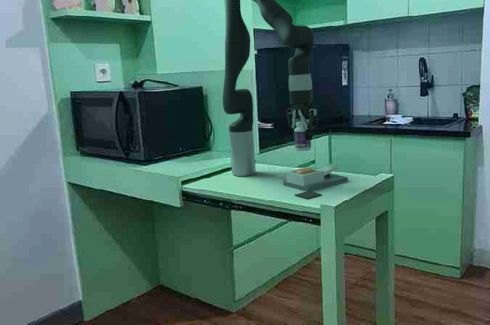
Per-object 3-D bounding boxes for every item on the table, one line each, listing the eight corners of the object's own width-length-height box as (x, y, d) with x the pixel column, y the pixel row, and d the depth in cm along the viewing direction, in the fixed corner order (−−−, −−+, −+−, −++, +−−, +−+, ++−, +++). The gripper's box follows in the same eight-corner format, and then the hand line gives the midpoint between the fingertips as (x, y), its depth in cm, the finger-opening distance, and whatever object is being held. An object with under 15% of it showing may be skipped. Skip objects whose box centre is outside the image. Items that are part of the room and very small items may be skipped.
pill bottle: (310, 151, 147) (309, 121, 145) (294, 151, 148) (293, 122, 146) (311, 148, 152) (310, 120, 151) (296, 148, 154) (294, 120, 152)
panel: (283, 185, 156) (282, 171, 155) (321, 175, 165) (321, 162, 164) (308, 191, 145) (307, 176, 144) (347, 181, 154) (347, 167, 153)
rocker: (313, 175, 157) (313, 171, 157) (330, 167, 161) (329, 163, 160) (321, 177, 154) (321, 173, 153) (338, 168, 157) (337, 164, 157)
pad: (294, 195, 141) (294, 194, 141) (309, 191, 145) (309, 190, 144) (307, 199, 136) (307, 198, 136) (321, 195, 140) (321, 194, 139)
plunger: (292, 176, 153) (292, 170, 153) (306, 173, 156) (305, 167, 156) (304, 179, 148) (303, 172, 148) (317, 176, 151) (317, 169, 151)
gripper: (278, 90, 150) (280, 139, 154) (306, 89, 139) (308, 143, 142) (295, 88, 154) (297, 136, 158) (324, 87, 142) (326, 140, 146)
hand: (302, 139), depth 150 cm, fingers closed on pill bottle, 5 cm apart
